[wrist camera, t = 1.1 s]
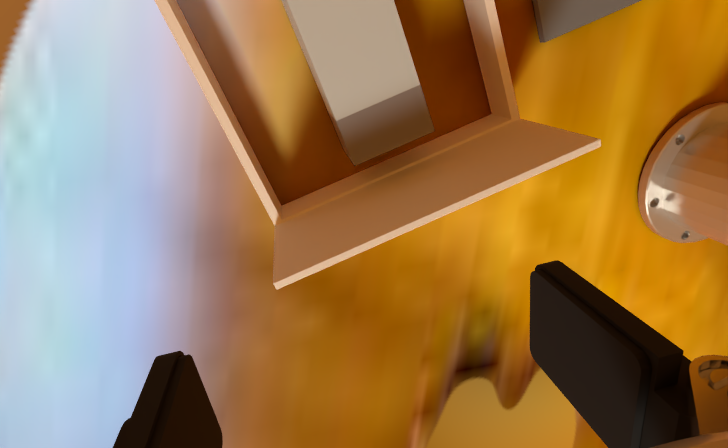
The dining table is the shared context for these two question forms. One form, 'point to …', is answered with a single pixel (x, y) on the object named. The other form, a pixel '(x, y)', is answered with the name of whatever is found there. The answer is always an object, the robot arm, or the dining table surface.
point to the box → (362, 73)
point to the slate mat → (571, 14)
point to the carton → (396, 163)
